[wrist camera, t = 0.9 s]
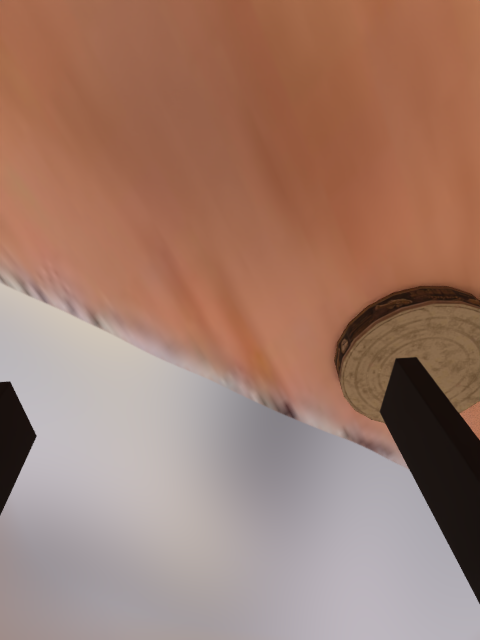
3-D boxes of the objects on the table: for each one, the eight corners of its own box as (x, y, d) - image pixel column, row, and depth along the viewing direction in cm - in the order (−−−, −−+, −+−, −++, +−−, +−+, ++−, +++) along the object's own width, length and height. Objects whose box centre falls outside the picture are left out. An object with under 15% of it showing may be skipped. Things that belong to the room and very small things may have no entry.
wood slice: (529, 298, 34) (550, 316, 32) (448, 412, 43) (460, 433, 41) (364, 274, 33) (372, 290, 31) (317, 395, 42) (321, 415, 40)
